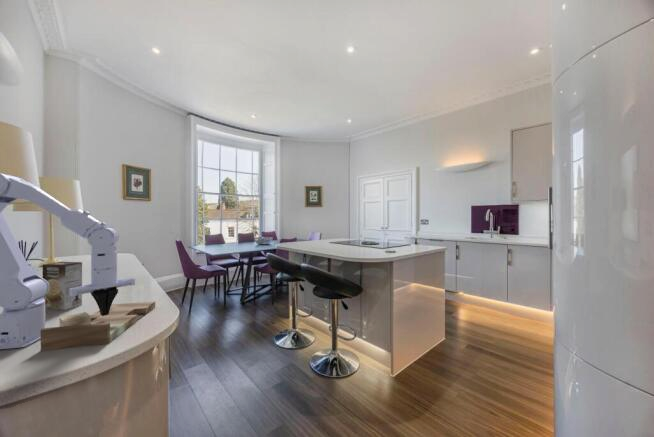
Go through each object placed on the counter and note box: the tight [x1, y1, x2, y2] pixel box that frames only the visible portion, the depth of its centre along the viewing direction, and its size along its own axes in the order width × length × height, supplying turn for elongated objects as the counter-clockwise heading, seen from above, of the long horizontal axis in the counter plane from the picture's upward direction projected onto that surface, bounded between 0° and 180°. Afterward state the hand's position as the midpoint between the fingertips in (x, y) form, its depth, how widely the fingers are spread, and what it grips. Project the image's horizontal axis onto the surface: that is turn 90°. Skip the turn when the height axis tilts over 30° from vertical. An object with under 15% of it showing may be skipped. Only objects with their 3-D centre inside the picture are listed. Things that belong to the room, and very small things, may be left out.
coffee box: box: [42, 261, 83, 311], centre depth 93 cm, size 9×6×16 cm
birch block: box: [59, 311, 92, 327], centre depth 68 cm, size 5×5×4 cm
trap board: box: [40, 300, 156, 351], centre depth 78 cm, size 28×14×5 cm, turn 13°
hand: (104, 314), depth 76 cm, fingers closed
